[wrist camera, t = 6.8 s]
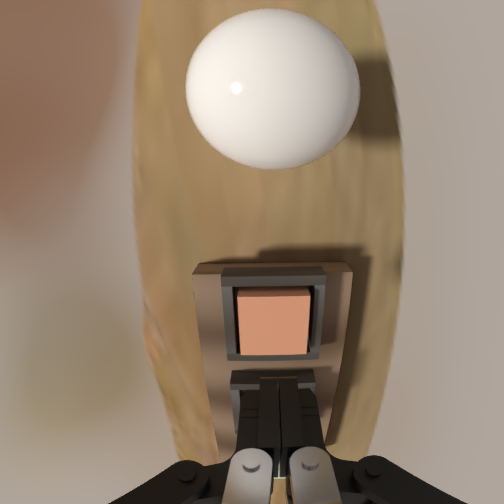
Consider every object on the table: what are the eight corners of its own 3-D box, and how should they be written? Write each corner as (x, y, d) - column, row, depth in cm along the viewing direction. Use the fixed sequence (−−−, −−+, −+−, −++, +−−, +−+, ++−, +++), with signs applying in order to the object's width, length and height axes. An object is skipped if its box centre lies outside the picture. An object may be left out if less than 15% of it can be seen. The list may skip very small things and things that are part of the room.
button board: (197, 257, 20) (185, 276, 17) (345, 255, 20) (360, 273, 16) (223, 450, 27) (220, 475, 23) (316, 449, 26) (320, 474, 23)
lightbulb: (329, 156, 18) (409, 154, 7) (231, 176, 18) (188, 198, 8) (306, 63, 16) (349, -30, 5) (208, 83, 17) (147, 6, 6)
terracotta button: (240, 282, 18) (237, 297, 16) (305, 281, 18) (310, 295, 16) (242, 337, 19) (240, 355, 18) (302, 336, 19) (306, 354, 17)
